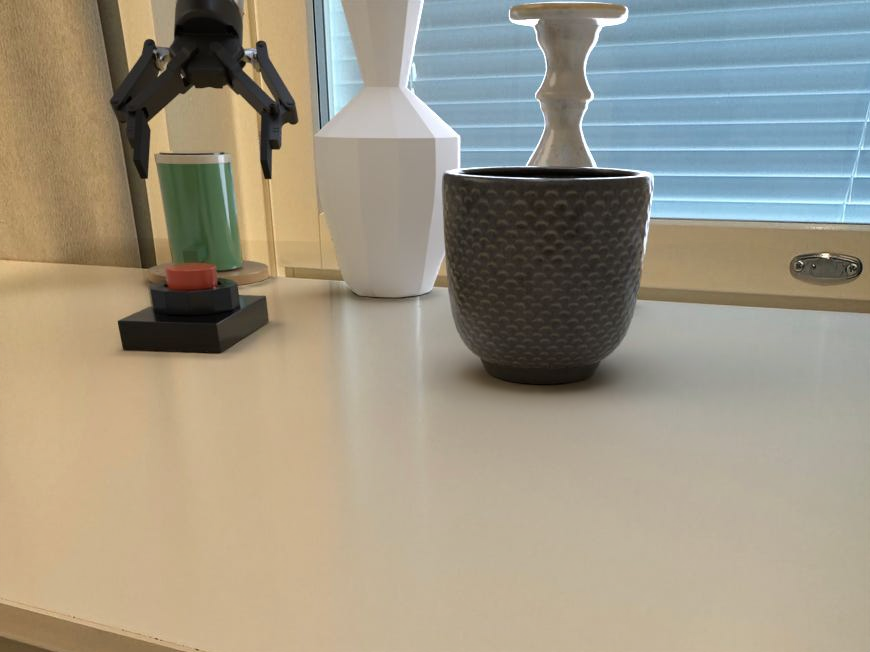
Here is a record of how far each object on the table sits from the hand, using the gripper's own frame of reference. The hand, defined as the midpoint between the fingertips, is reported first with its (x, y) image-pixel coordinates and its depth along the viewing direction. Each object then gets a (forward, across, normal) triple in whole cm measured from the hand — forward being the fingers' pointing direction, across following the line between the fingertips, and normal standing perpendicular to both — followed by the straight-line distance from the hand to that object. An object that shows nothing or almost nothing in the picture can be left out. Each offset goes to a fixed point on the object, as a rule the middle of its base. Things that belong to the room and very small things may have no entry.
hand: (203, 170), depth 97 cm
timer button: (+29, -5, +19) cm, 35 cm away
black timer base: (+31, -5, +16) cm, 35 cm away
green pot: (+11, 0, -2) cm, 11 cm away
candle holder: (+22, -37, +7) cm, 43 cm away
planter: (+40, -32, +25) cm, 57 cm away
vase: (+17, -21, +2) cm, 27 cm away
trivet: (+10, 0, -4) cm, 11 cm away
